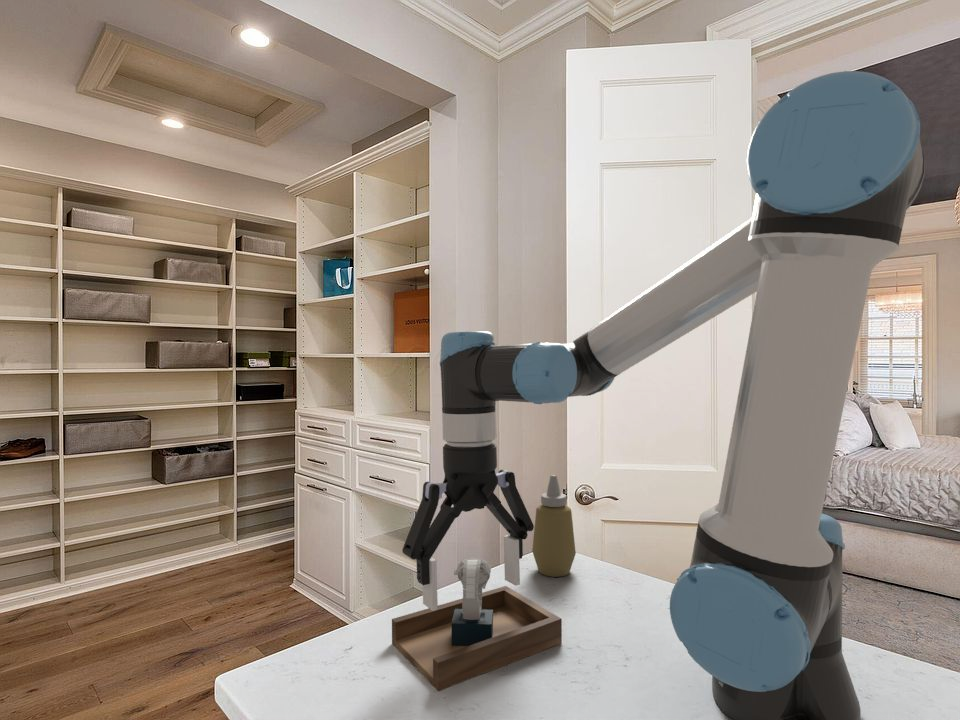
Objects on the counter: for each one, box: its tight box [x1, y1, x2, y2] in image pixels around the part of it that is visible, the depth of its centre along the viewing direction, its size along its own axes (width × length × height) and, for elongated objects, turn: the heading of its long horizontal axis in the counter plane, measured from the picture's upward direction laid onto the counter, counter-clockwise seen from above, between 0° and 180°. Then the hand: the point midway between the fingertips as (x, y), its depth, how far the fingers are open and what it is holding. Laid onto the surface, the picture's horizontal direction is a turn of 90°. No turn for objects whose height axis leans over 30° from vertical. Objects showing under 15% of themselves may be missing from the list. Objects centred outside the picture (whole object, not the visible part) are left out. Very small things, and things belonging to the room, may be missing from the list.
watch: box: [451, 557, 493, 646], centre depth 79 cm, size 6×8×11 cm
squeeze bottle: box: [531, 474, 577, 578], centre depth 105 cm, size 8×8×18 cm
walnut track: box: [391, 585, 563, 692], centre depth 80 cm, size 13×20×4 cm
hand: (473, 594), depth 79 cm, fingers open, 13 cm apart
